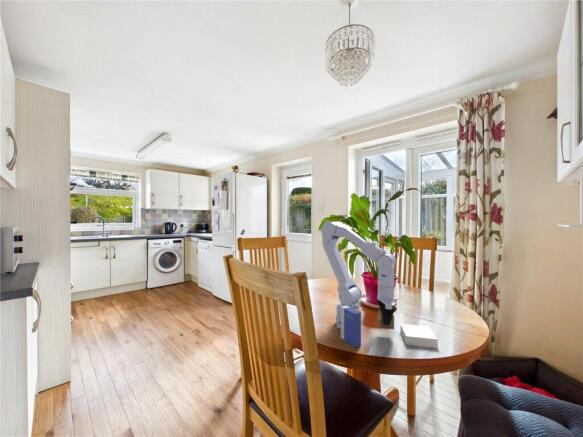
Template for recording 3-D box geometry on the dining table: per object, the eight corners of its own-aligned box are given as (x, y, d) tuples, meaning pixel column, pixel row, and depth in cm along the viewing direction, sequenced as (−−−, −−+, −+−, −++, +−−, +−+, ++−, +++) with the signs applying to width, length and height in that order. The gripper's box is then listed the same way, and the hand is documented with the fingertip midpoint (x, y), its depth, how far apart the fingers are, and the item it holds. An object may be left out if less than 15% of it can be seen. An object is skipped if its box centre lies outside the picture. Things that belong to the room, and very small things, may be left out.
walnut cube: (379, 327, 91) (379, 314, 91) (378, 322, 95) (378, 309, 95) (394, 329, 89) (394, 315, 89) (391, 323, 94) (391, 310, 94)
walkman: (361, 345, 85) (361, 311, 85) (354, 347, 84) (354, 312, 84) (346, 336, 92) (346, 304, 92) (340, 337, 91) (340, 305, 91)
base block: (406, 344, 86) (406, 336, 86) (400, 331, 96) (400, 324, 96) (437, 348, 84) (437, 339, 84) (428, 334, 94) (428, 326, 94)
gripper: (401, 292, 84) (401, 331, 84) (393, 281, 99) (393, 315, 99) (379, 290, 86) (379, 329, 86) (375, 280, 100) (375, 313, 100)
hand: (385, 321), depth 92 cm, fingers closed on walnut cube, 5 cm apart
